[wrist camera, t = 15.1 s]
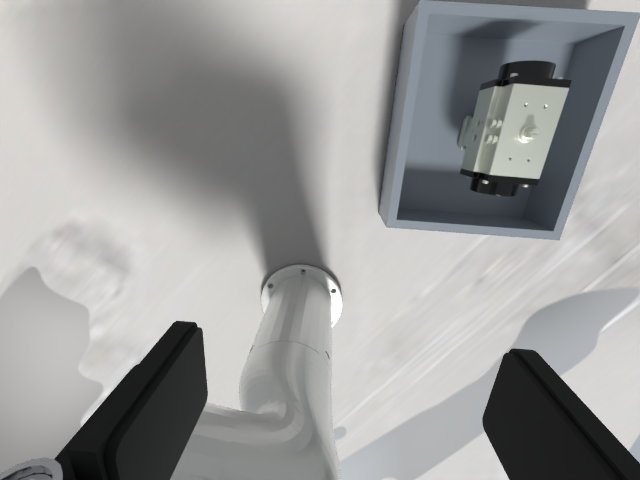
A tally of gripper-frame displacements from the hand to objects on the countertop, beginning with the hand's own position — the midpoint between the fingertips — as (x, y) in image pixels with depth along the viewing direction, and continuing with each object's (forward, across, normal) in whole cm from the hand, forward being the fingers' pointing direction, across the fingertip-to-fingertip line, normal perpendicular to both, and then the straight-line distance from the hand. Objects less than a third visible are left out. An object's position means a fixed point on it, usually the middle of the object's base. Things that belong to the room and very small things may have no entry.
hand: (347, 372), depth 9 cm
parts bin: (+33, -16, -8) cm, 38 cm away
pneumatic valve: (+32, -16, -8) cm, 37 cm away
